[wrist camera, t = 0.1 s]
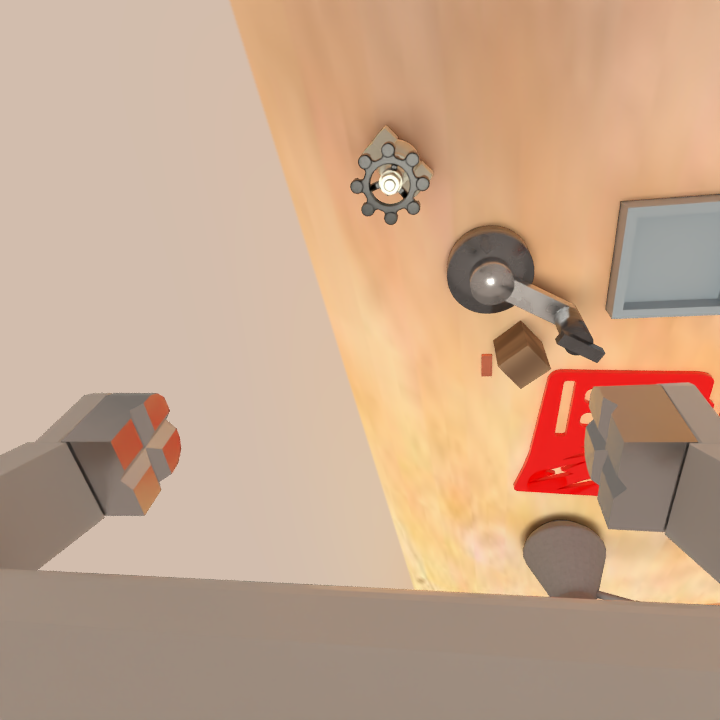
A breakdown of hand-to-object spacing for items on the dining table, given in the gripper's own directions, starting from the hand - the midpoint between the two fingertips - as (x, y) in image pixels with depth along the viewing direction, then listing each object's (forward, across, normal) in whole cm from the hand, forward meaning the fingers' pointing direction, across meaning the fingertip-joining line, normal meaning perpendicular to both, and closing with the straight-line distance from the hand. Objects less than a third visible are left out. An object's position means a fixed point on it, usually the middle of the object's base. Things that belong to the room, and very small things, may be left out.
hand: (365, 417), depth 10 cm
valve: (+48, +3, +3) cm, 48 cm away
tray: (+48, -25, +15) cm, 56 cm away
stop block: (+48, -10, +25) cm, 55 cm away
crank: (+45, -10, +18) cm, 49 cm away
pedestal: (+48, -6, +20) cm, 52 cm away
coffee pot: (+48, -22, +58) cm, 79 cm away
